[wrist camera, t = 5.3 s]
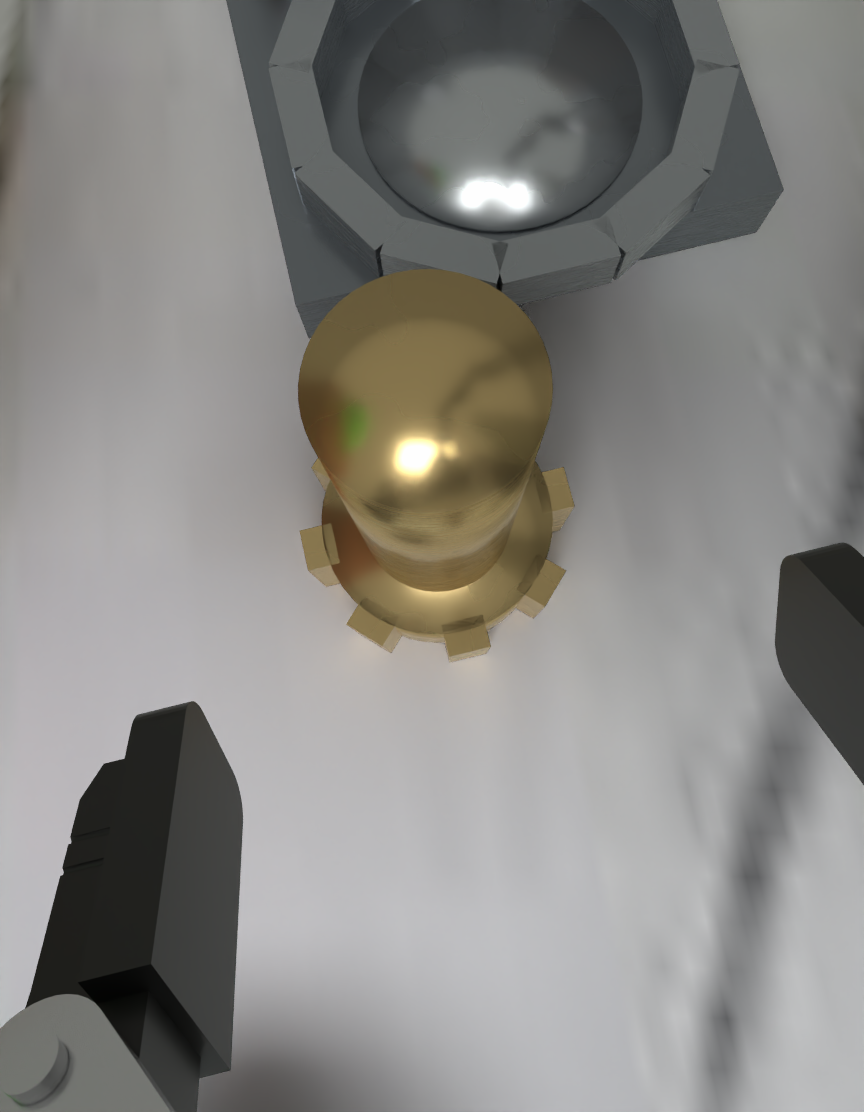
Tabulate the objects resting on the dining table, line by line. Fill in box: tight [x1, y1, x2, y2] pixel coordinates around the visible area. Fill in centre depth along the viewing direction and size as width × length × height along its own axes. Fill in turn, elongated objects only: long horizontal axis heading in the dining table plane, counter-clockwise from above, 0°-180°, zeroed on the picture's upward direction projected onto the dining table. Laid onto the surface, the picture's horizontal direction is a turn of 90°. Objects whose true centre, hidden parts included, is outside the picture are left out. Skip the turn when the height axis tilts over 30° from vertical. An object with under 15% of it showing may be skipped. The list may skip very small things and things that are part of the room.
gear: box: [298, 269, 574, 662], centre depth 15 cm, size 6×6×10 cm
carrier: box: [226, 0, 784, 338], centre depth 19 cm, size 12×13×6 cm
